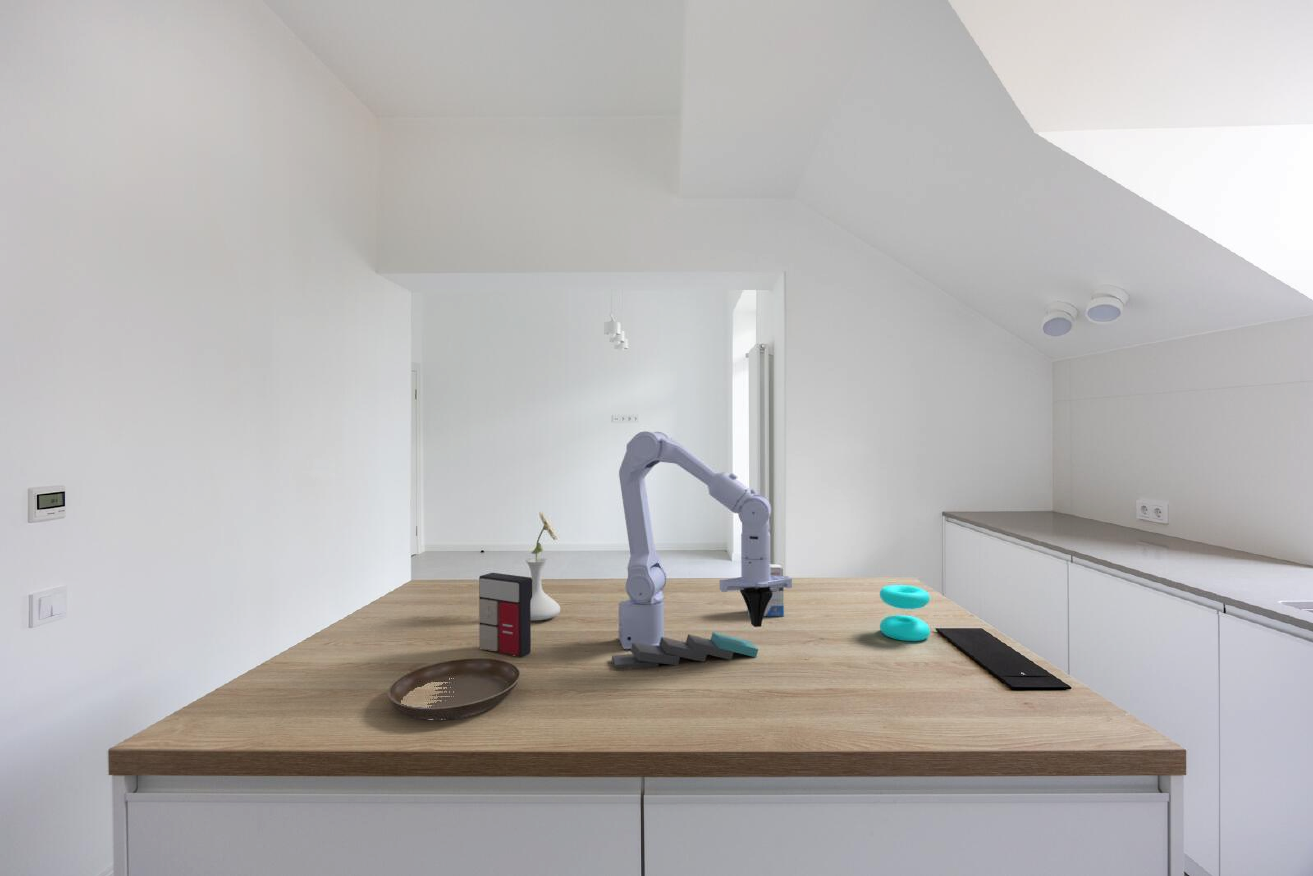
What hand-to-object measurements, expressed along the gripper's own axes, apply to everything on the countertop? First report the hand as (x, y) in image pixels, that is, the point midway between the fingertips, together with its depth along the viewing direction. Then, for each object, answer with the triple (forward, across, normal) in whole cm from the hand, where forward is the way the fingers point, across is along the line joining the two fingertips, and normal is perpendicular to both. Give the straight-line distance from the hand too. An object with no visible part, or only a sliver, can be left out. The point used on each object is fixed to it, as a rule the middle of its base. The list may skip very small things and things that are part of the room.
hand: (756, 625), depth 121 cm
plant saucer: (+6, -56, -9) cm, 57 cm away
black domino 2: (+5, -17, -1) cm, 18 cm away
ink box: (+6, +12, +25) cm, 28 cm away
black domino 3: (+5, -6, 0) cm, 8 cm away
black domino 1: (+5, -21, 0) cm, 21 cm away
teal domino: (+5, -1, 0) cm, 5 cm away
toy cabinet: (+6, -49, +12) cm, 51 cm away
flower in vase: (+6, -42, +35) cm, 55 cm away
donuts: (+6, +35, +3) cm, 36 cm away
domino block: (+5, -11, 0) cm, 12 cm away
